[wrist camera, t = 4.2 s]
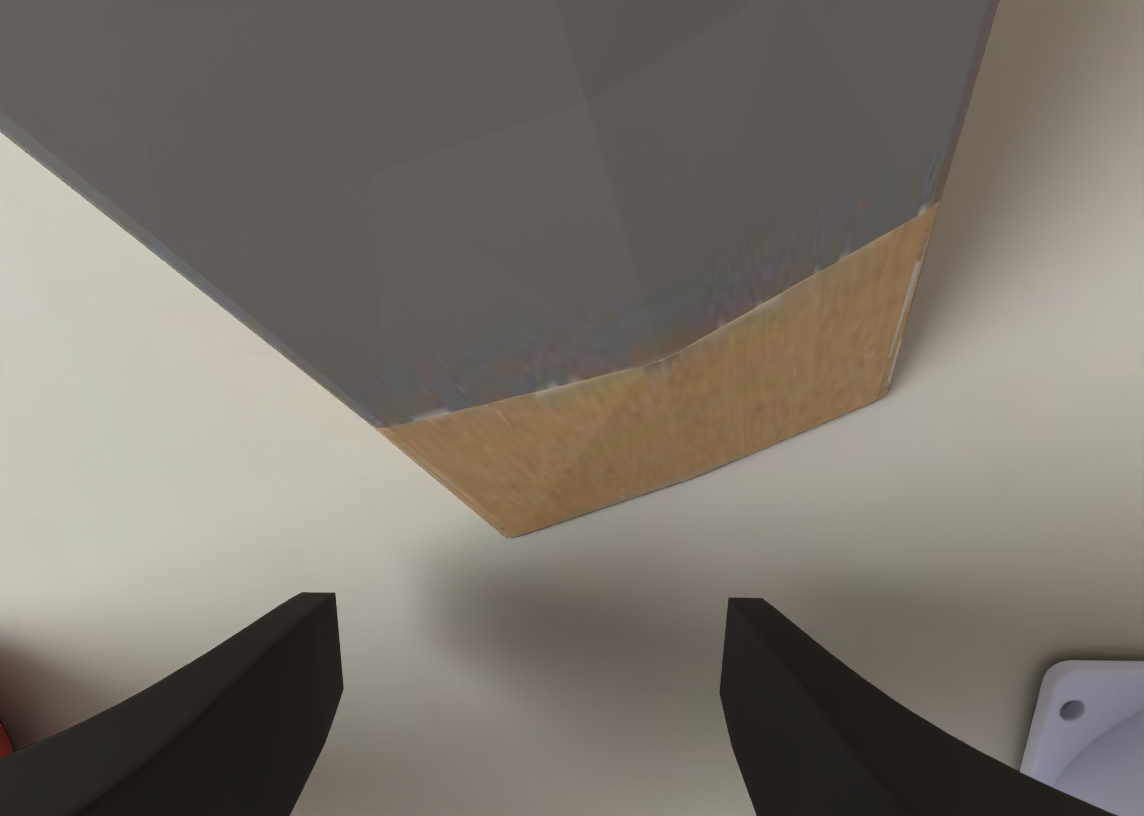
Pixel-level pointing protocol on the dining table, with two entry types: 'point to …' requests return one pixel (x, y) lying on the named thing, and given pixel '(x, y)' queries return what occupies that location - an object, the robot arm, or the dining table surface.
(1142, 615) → the dining table surface
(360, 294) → the sandwich container
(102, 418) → the dining table surface
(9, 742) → the liquor
